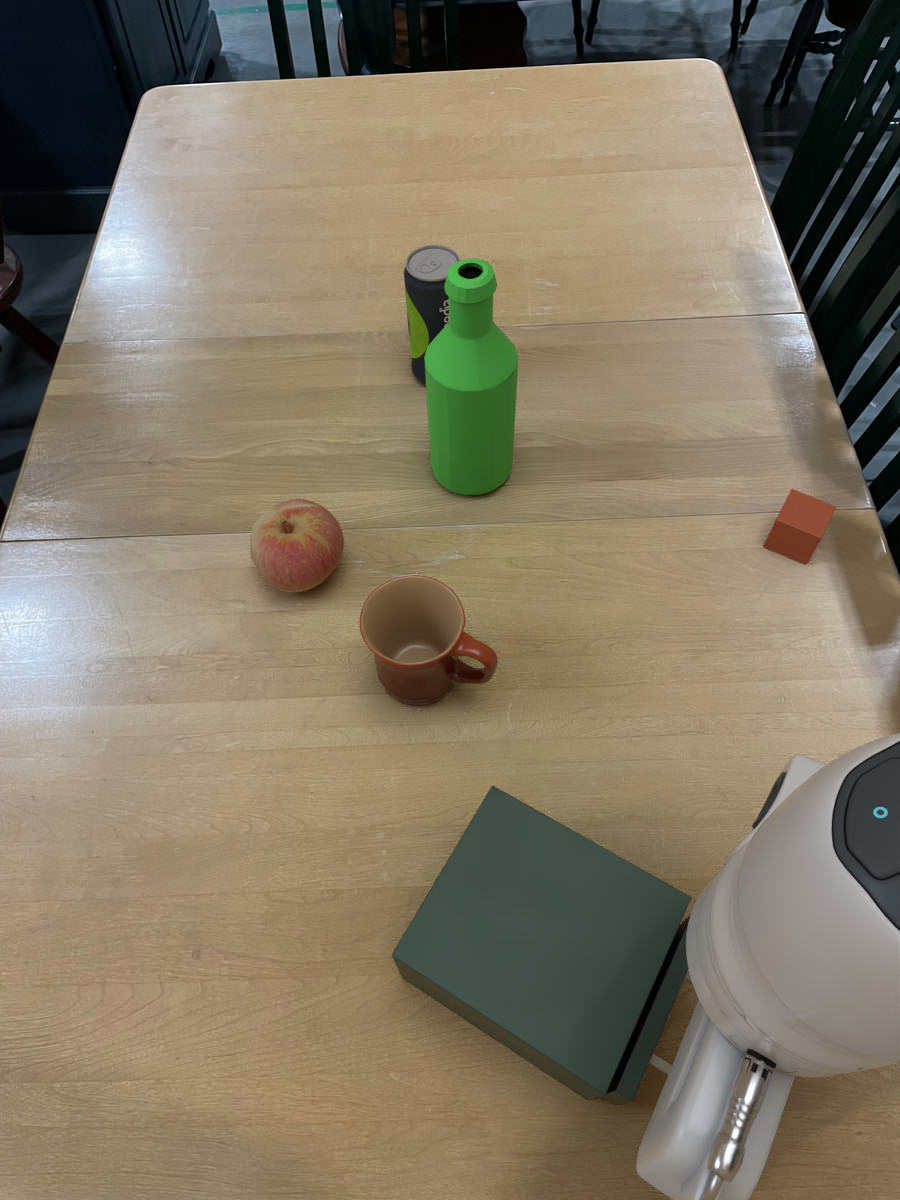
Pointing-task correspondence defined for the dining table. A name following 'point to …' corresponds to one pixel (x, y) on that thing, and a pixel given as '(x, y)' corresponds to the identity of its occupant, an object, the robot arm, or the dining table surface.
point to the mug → (421, 640)
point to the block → (799, 526)
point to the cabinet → (542, 941)
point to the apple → (296, 545)
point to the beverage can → (426, 299)
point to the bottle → (471, 386)
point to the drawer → (651, 1023)
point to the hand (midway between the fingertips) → (721, 999)
